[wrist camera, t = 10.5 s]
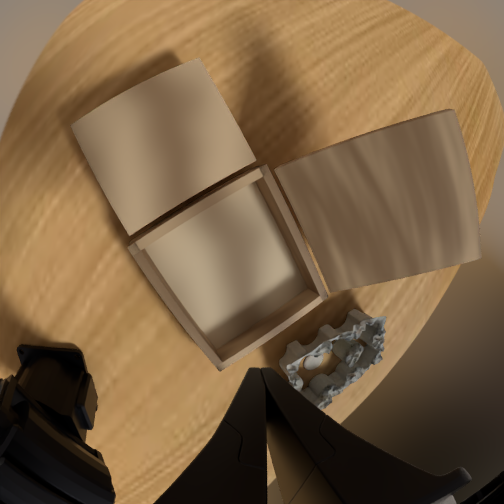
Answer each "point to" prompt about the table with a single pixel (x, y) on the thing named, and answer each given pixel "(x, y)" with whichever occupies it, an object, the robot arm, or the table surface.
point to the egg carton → (344, 347)
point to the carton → (201, 212)
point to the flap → (387, 202)
